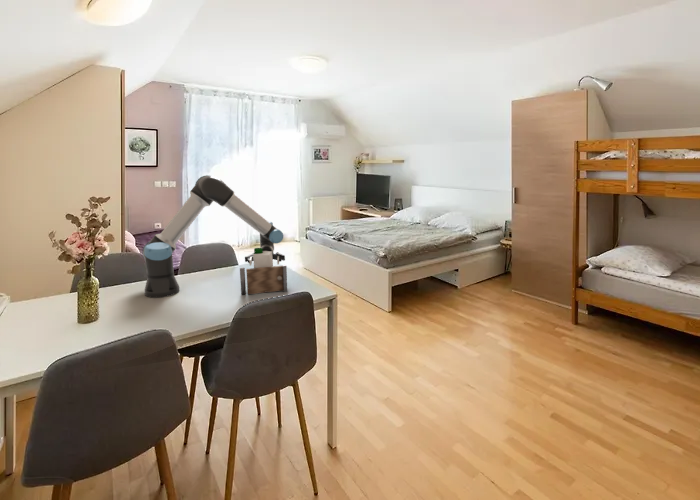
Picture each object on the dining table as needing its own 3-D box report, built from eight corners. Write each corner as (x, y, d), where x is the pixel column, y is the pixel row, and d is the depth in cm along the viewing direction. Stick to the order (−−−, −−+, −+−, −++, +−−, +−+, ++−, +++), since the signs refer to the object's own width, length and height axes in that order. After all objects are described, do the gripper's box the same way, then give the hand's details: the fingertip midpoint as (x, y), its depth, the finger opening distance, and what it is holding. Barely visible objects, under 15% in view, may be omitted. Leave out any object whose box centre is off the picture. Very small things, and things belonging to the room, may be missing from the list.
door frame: (241, 295, 188) (239, 269, 185) (241, 294, 190) (239, 267, 187) (287, 291, 194) (286, 265, 191) (286, 290, 196) (285, 264, 193)
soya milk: (257, 284, 204) (255, 246, 200) (275, 285, 204) (273, 246, 200) (253, 290, 196) (251, 250, 191) (271, 290, 196) (270, 250, 191)
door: (248, 295, 187) (247, 270, 185) (247, 293, 191) (246, 268, 188) (286, 291, 194) (285, 267, 191) (284, 288, 197) (284, 265, 195)
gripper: (289, 258, 222) (289, 268, 201) (243, 260, 218) (238, 270, 198) (289, 245, 220) (289, 254, 200) (242, 246, 216) (238, 255, 196)
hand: (264, 262), depth 199 cm, fingers open, 13 cm apart
